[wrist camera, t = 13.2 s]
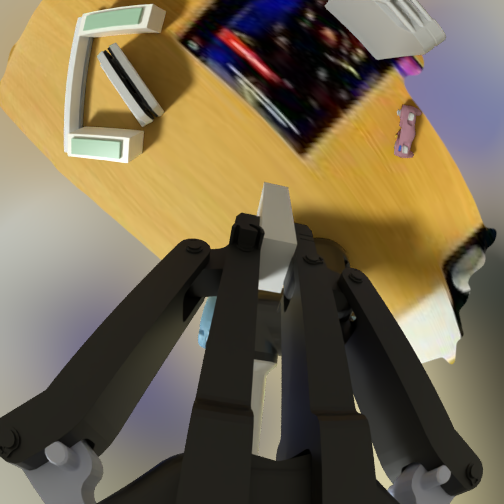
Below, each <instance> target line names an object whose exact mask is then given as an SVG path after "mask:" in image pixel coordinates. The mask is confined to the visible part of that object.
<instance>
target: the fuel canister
mask: <svg viewBox="0 0 504 504" xmlns="http://www.w3.org/2000/svg"><path fill="white" fill-rule="evenodd" d="M410 1H411V2H412V3H413V4H414V5H415V6H416V7H417V9H418V10H419V11H420V12H421V13H420V12H418V10H417V9H416V8H415V7H414V5H413V4H412V3H411V2H410ZM410 1H409V0H329V1H328V2H327V4H326V5H325V7H326V9H327V10H328V11H330V12H331V13H332V14H333V15H334V16H335V17H336V18H337V19H338V20H339V21H340V22H341V23H342V24H343V25H344V26H346V27H347V28H348V29H349V30H350V31H351V33H352V34H353V35H354V36H355V37H356V38H357V39H358V40H359V41H360V42H361V43H362V44H363V45H364V46H365V47H366V49H367V50H368V51H369V52H370V53H371V54H372V55H373V57H374V58H376V59H377V60H379V59H386V58H394V57H403V56H413V55H424V54H426V53H427V52H429V51H430V50H432V49H433V48H434V46H437V45H439V44H440V43H441V42H443V41H444V40H445V38H446V35H445V33H444V31H443V30H442V29H441V27H440V26H439V24H438V23H437V22H436V20H434V19H432V18H431V17H430V15H428V13H427V12H426V10H425V9H424V8H423V7H422V6H421V5H420V3H419V2H418V1H417V0H410Z"/></svg>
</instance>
